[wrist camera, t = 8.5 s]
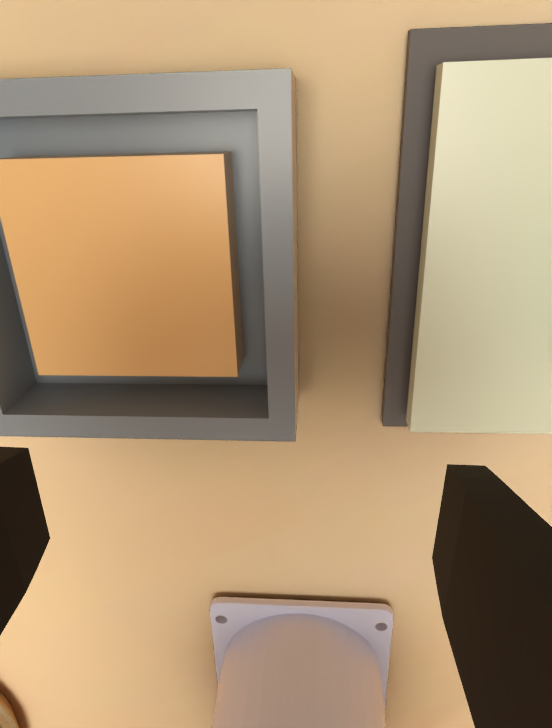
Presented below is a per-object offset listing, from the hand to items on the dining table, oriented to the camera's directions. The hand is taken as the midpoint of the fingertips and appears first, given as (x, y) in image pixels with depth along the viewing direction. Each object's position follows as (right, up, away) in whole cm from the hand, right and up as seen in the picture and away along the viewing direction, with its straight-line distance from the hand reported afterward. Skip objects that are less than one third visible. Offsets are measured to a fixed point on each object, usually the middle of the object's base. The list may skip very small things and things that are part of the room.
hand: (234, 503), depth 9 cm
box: (-4, +6, +8) cm, 11 cm away
